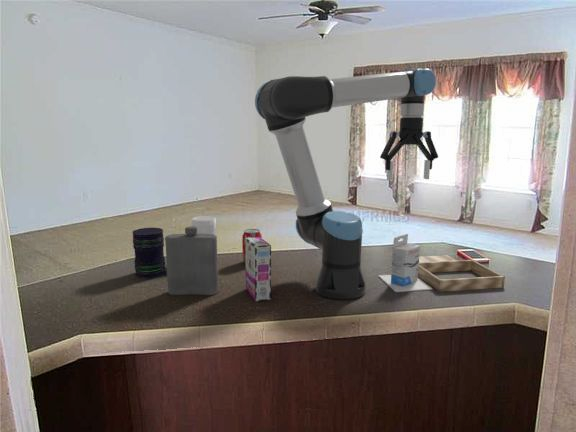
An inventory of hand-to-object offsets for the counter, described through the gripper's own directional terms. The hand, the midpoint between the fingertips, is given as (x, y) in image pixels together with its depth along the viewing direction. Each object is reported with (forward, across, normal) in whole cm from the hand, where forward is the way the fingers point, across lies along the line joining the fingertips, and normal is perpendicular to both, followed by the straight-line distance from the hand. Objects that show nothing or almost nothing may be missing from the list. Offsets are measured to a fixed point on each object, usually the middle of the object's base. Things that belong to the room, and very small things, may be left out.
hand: (408, 179), depth 154 cm
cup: (+31, +71, -15) cm, 79 cm away
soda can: (+31, +54, -10) cm, 63 cm away
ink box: (+30, +8, +19) cm, 37 cm away
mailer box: (+31, -10, +11) cm, 34 cm away
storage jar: (+31, +89, -3) cm, 94 cm away
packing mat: (+31, +8, +19) cm, 37 cm away
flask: (+31, +74, +16) cm, 82 cm away
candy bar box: (+31, +55, +21) cm, 67 cm away
